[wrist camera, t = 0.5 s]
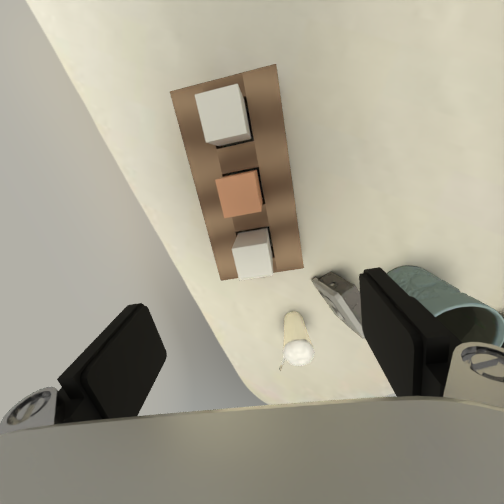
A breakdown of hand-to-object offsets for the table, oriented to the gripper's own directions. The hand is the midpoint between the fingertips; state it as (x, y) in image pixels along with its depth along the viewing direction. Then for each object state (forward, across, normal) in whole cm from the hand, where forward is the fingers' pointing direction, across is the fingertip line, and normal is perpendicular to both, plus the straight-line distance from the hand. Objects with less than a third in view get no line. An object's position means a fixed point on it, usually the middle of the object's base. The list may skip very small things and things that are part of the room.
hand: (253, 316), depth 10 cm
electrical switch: (+27, -9, +16) cm, 33 cm away
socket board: (+27, +2, -3) cm, 27 cm away
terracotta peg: (+23, +2, -3) cm, 23 cm away
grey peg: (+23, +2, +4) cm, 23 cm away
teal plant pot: (+27, -20, +18) cm, 38 cm away
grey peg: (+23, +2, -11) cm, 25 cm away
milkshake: (+27, -1, +21) cm, 34 cm away
